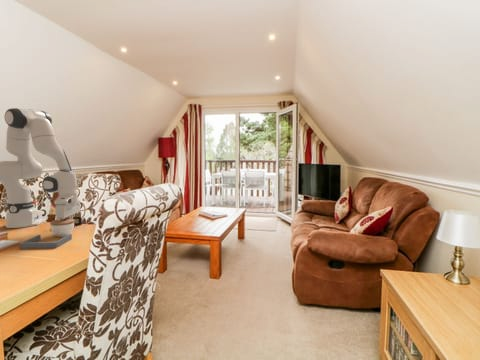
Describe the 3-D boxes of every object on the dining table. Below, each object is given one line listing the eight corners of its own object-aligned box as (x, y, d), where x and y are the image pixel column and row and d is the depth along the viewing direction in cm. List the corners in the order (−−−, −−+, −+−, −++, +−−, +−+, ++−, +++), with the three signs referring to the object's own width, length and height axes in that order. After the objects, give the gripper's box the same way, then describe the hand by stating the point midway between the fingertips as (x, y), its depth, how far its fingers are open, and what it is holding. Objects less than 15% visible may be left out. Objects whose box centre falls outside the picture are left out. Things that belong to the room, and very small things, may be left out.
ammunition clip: (61, 226, 165) (60, 206, 164) (61, 226, 167) (60, 206, 166) (81, 224, 170) (80, 205, 169) (82, 224, 171) (81, 205, 170)
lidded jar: (49, 239, 141) (48, 221, 140) (53, 233, 150) (52, 216, 149) (73, 236, 145) (72, 219, 144) (75, 231, 155) (75, 214, 154)
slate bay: (38, 239, 140) (38, 234, 140) (71, 238, 141) (71, 234, 141) (19, 248, 126) (19, 243, 126) (56, 247, 128) (56, 242, 128)
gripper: (71, 196, 163) (72, 219, 164) (52, 201, 143) (53, 228, 144) (83, 195, 163) (84, 218, 165) (65, 201, 143) (66, 227, 144)
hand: (69, 223), depth 154 cm, fingers closed
